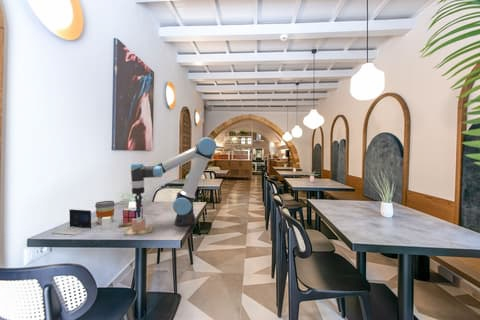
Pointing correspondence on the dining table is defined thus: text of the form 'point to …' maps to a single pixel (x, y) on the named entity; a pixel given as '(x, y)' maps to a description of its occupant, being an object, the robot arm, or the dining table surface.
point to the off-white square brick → (106, 222)
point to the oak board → (130, 232)
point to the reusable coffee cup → (104, 210)
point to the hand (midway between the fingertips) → (139, 219)
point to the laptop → (77, 222)
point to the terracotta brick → (138, 224)
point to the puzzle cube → (130, 214)
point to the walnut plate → (125, 224)
